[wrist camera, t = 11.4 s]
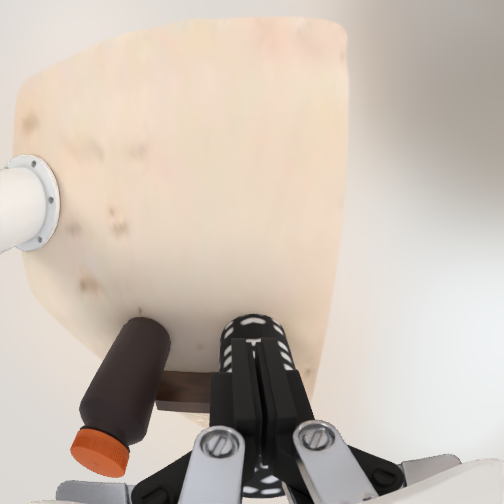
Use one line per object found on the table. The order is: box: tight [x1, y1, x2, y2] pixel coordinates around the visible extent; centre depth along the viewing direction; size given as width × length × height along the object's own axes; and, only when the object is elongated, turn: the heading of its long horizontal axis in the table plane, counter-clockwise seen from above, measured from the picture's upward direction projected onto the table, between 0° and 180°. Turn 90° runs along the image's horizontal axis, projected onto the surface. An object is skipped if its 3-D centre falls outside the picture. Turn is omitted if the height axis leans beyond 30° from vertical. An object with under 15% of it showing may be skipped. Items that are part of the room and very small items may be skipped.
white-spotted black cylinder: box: [219, 314, 296, 498], centre depth 26 cm, size 8×8×20 cm
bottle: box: [71, 318, 171, 478], centre depth 25 cm, size 7×7×20 cm
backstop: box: [155, 371, 211, 413], centre depth 34 cm, size 14×2×6 cm, turn 89°
